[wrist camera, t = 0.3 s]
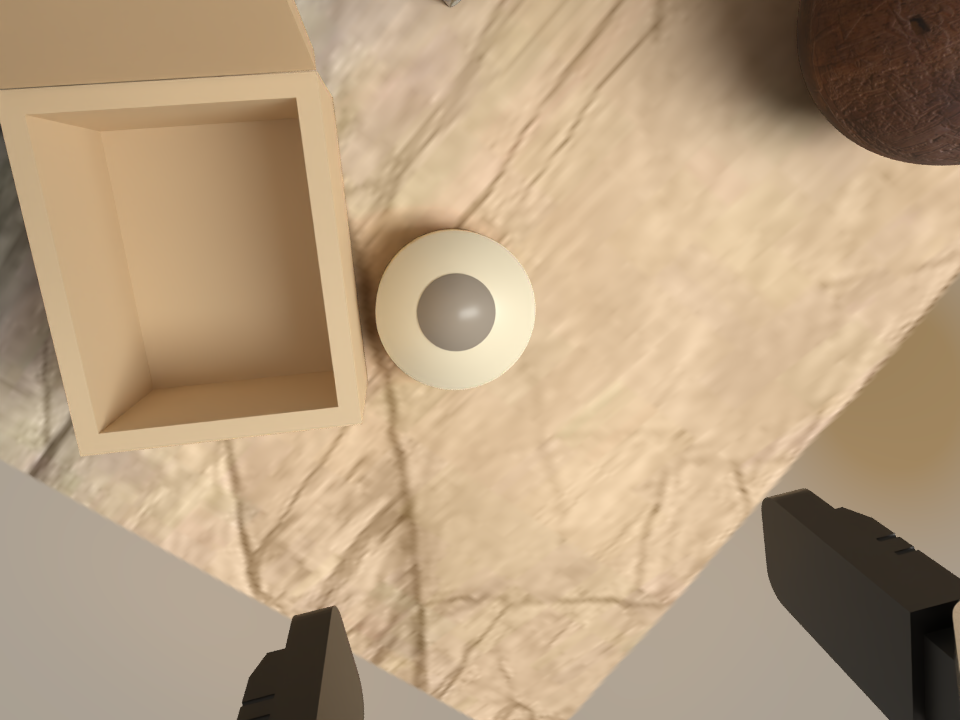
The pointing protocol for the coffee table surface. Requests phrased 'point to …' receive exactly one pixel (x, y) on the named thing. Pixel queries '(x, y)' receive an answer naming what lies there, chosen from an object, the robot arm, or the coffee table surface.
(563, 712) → the coffee table surface
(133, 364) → the box
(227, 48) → the lid
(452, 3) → the coffee box
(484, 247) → the cream domed button
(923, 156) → the wooden sphere
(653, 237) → the coffee table surface
